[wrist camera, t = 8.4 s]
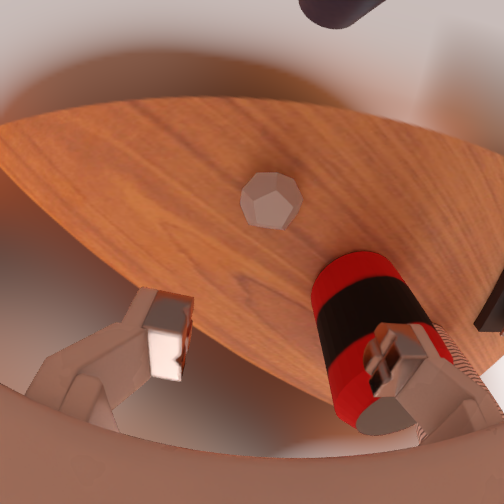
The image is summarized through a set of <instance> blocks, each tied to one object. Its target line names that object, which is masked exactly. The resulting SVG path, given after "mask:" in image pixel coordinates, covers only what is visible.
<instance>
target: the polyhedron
mask: <svg viewBox="0 0 504 504" xmlns="http://www.w3.org/2000/svg"><path fill="white" fill-rule="evenodd" d="M302 202H303V197H302V195H301V193H300V191H299V189H298V187H297V185H296V182H295V180H294V179H293V178H291V177H288V176H285V175H283V174H280V173H278V172H262V173H256V174H255V175H254V176H253V177H252V178H251V180H250V181H249V182H248V183H247V184H246V185H245V187H244V188H243V189H242V193H241V200H240V206H241V208H242V211H243V213H244V215H245V218H246V220H247V222H248V225H252V226H257V227H262V228H269V229H279V230H286V228H287V227H288V226H289V224H290V223H291V222H292V220H293V219H294V218H295V216H296V215H297V214H298V212H299V209H300V207H301V204H302Z"/></svg>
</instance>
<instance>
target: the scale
mask: <svg viewBox="0 0 504 504" xmlns="http://www.w3.org/2000/svg"><path fill="white" fill-rule="evenodd" d="M474 325H475V327H476V328H477V330H478V331H479V332H501V331H502V329H503V328H504V270H503V272H502V274H501V276H500V278H499V280H498V282H497V284H496V286H495V288H494V290H493V292H492V293H491V295H490V297H489V299H488V301H487V302H486V304H485V306H484V308H483V309H482V311H481V313H480V314H479V316H478V318H477V319H476V321H475V323H474Z"/></svg>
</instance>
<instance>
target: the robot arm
mask: <svg viewBox="0 0 504 504" xmlns="http://www.w3.org/2000/svg"><path fill="white" fill-rule="evenodd" d="M193 310H194V297H190V296H185V295H181V294H176V293H171V292H166V291H162V290H156V289H151V288H147V287H141V288H140V289H139V290H138V292H137V294H136V296H135V298H134V299H133V301H132V303H131V305H130V307H129V309H128V311H127V313H126V314H125V316H124V318H123V320H122V322H121V323H118V322H115V323H113V324H111V325H110V326H107V327H105V328H103V329H101V330H99V331H98V332H96V333H94V334H92V335H90V336H88V337H86V338H84V339H82V340H80V341H78V342H76V343H74V344H72V345H70V346H68V347H67V348H65V349H63V350H61V351H59V352H57V353H55V354H53V355H51V356H49V357H47V358H46V359H45V361H44V362H43V364H42V366H41V367H40V369H39V371H38V372H37V374H36V376H35V377H34V379H33V381H32V383H31V384H30V386H29V388H28V390H27V391H26V393H25V395H22V394H20V393H18V392H16V391H14V390H12V389H10V388H8V387H7V386H5V385H3V384H1V383H0V504H504V420H503V418H502V416H501V414H500V412H499V410H498V408H497V406H496V404H495V402H494V400H493V398H492V396H491V394H490V393H489V392H487V391H486V390H485V389H483V388H482V387H481V386H480V385H478V384H477V383H476V382H475V381H473V380H472V379H471V378H470V377H468V376H467V375H466V374H464V373H463V372H462V371H461V370H459V369H458V368H457V367H455V366H454V365H453V364H451V363H450V362H449V361H448V360H446V359H445V358H441V357H440V356H439V354H438V352H437V350H436V348H435V347H434V345H433V343H432V341H431V340H430V338H429V336H428V335H427V333H426V331H425V330H424V328H423V327H422V326H421V325H420V324H397V323H384V322H381V323H380V324H379V325H378V326H377V327H376V329H375V331H374V335H375V338H374V339H372V340H371V341H369V342H368V344H367V346H366V347H365V349H364V354H363V365H364V369H365V371H366V372H367V373H368V374H370V375H371V377H370V379H369V384H370V387H371V390H372V393H373V397H396V399H397V400H398V402H399V403H400V404H401V405H402V406H403V407H404V408H405V410H406V411H407V412H408V413H409V414H410V415H411V416H412V418H413V419H414V420H415V421H416V422H417V423H418V424H419V426H420V427H421V428H422V429H423V430H424V431H425V432H426V434H427V435H428V436H427V437H426V438H425V439H424V440H423V441H421V442H420V444H419V445H418V446H417V447H412V448H407V449H400V450H394V451H388V452H381V453H373V454H365V455H354V456H342V457H326V458H269V457H252V456H239V455H230V454H221V453H213V452H206V451H199V450H193V449H187V448H182V447H176V446H171V445H166V444H162V443H157V442H153V441H149V440H144V439H140V438H137V437H133V436H129V435H126V434H122V433H120V432H119V429H118V427H117V424H116V421H115V419H114V416H113V413H112V410H113V409H114V408H115V407H117V406H118V405H119V404H120V403H121V402H123V401H124V400H125V399H126V398H128V397H129V396H130V395H131V394H132V393H133V392H135V391H136V390H137V389H138V388H139V387H141V386H142V385H143V384H144V383H145V382H146V381H147V380H149V379H150V376H152V377H157V378H162V379H167V380H173V381H179V382H181V379H182V375H183V370H184V366H185V355H186V353H187V352H188V349H189V344H190V339H191V332H192V323H193V321H192V319H191V317H192V313H193Z"/></svg>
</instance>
